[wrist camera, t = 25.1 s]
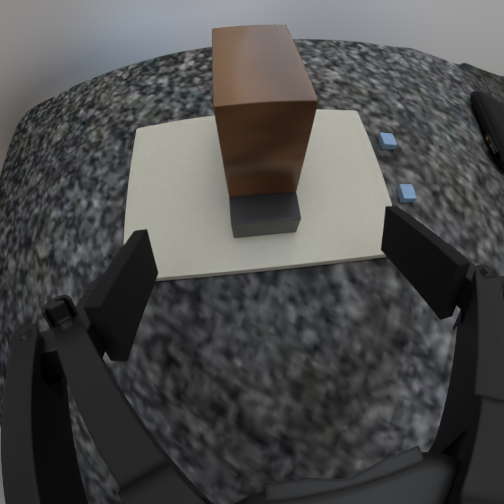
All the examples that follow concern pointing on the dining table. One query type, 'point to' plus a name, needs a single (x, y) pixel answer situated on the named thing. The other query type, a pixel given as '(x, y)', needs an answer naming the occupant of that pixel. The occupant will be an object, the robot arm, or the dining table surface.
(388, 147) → the small blue block
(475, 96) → the carrying case
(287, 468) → the dining table surface
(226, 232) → the board
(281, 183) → the eraser
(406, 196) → the blue square block
